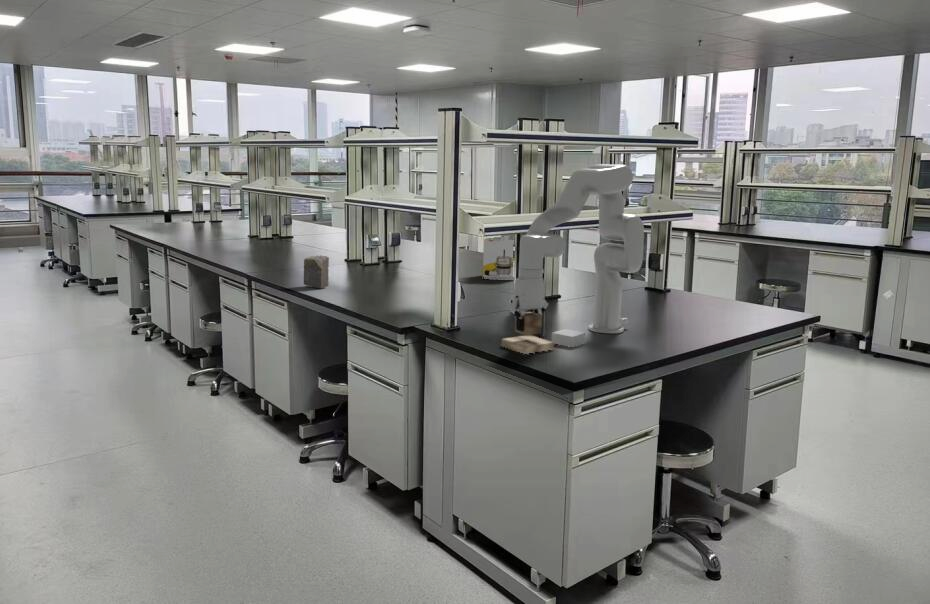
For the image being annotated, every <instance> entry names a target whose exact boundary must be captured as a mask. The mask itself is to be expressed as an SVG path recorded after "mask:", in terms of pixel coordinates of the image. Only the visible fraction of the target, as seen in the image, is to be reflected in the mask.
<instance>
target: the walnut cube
mask: <svg viewBox="0 0 930 604" xmlns="http://www.w3.org/2000/svg"><path fill="white" fill-rule="evenodd" d="M514 319H515V320H514V332H515V333H518V334H521V335H523V336H525V335H533V334H541V326H542V315H540V314H536V313H532V312H526V311H525V313H524V316H523V319H524V331H519V330H516V318H515V317H514Z"/></svg>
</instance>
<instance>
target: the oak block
mask: <svg viewBox="0 0 930 604" xmlns="http://www.w3.org/2000/svg"><path fill="white" fill-rule="evenodd" d="M501 347H502V348H504V347H505V349H507V348H508V349H507V350H510V349H511V350H510V351H514V352H515V351H516V352H515V353H518V352H520V353H519V354H521V353H523V354H522V355H524V354H527V355H530V354H529V353H533V354H536V353H535V352H539V353H543V352H542V351H545V352H549V351H548V350H551V351H554V350H555V344H554V342H552V340H548V339H544V338H543V337H540V338H539V337H536V336H533V335H518V336H513V337H504V338H501Z"/></svg>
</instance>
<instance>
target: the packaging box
mask: <svg viewBox="0 0 930 604" xmlns="http://www.w3.org/2000/svg"><path fill="white" fill-rule="evenodd" d="M513 244H514V236H504V237H494V238H486V239H484V238H483V248H482V249H483V251H482V252H483V253H482V255H483V256H482V261H483V262H482V278H483V277H513Z"/></svg>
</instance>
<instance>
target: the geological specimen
mask: <svg viewBox="0 0 930 604" xmlns="http://www.w3.org/2000/svg"><path fill="white" fill-rule="evenodd" d="M329 261H330V258H329V256H324V255H312V256H308V257H305V258H304V259H303V285H305V286H309V287H312V288H315V289H325V288H327V287H328V286H329V278H330V277H329V265H330V264H329Z"/></svg>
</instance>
